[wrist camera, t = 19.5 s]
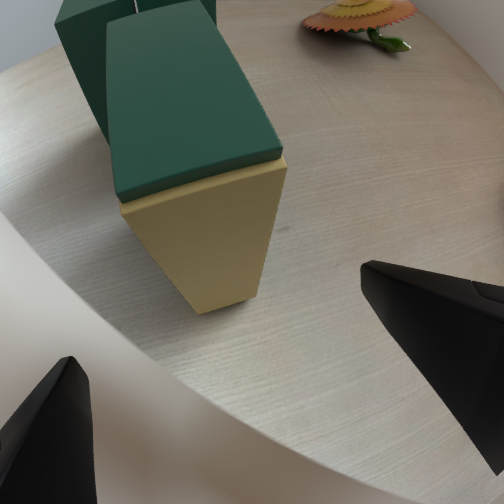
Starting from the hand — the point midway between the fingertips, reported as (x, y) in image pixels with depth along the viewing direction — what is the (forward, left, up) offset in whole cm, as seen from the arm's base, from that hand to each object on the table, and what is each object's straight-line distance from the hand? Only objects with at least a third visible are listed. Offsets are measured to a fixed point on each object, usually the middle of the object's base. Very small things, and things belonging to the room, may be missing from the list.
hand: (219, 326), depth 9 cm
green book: (+5, +5, -10) cm, 12 cm away
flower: (+37, +6, -10) cm, 39 cm away
